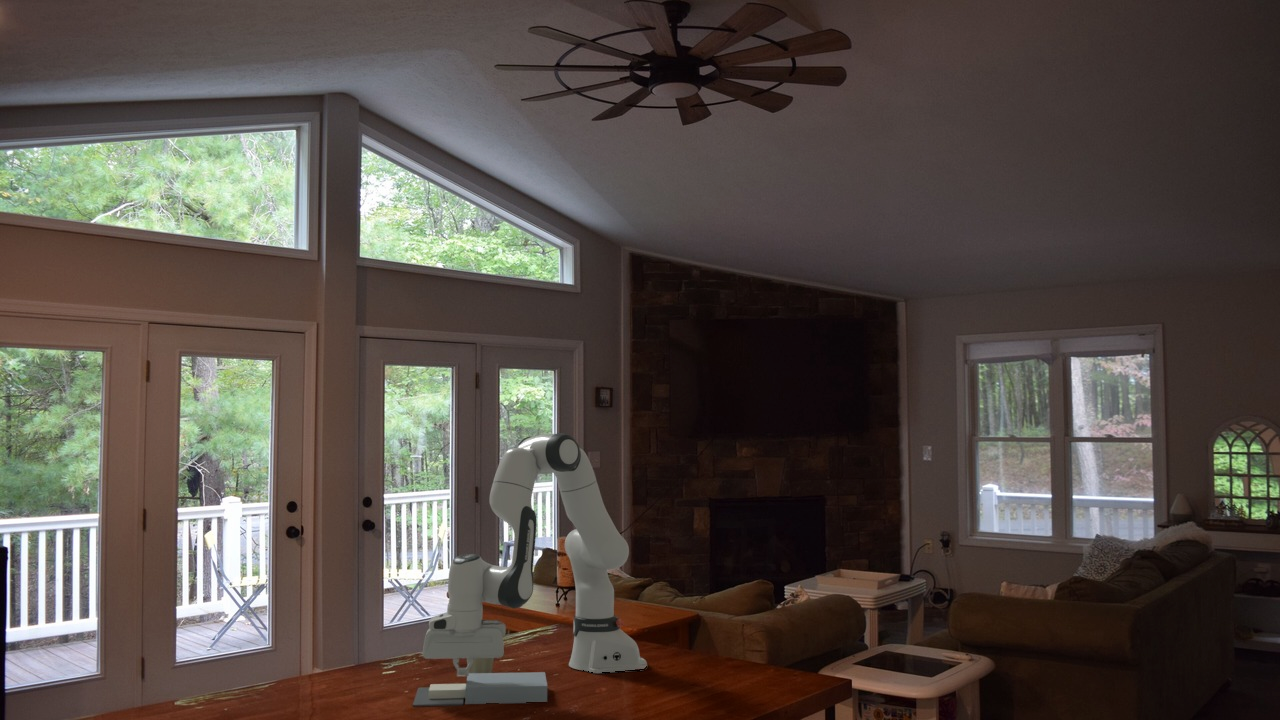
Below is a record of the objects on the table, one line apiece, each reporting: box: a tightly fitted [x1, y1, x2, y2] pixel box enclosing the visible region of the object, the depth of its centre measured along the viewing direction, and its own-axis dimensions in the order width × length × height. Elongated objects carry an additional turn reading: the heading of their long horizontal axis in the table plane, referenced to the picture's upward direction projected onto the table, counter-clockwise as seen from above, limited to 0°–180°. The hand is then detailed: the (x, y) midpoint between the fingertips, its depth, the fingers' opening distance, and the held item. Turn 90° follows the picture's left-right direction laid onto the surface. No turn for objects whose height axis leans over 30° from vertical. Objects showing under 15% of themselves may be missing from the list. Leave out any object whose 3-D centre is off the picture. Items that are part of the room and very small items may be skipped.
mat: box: [412, 686, 465, 707], centre depth 243 cm, size 12×16×1 cm
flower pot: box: [466, 658, 495, 673], centre depth 264 cm, size 9×9×9 cm
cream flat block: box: [429, 683, 466, 699], centre depth 243 cm, size 9×6×2 cm, turn 98°
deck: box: [464, 671, 548, 705], centre depth 245 cm, size 20×14×4 cm
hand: (462, 675), depth 244 cm, fingers closed
